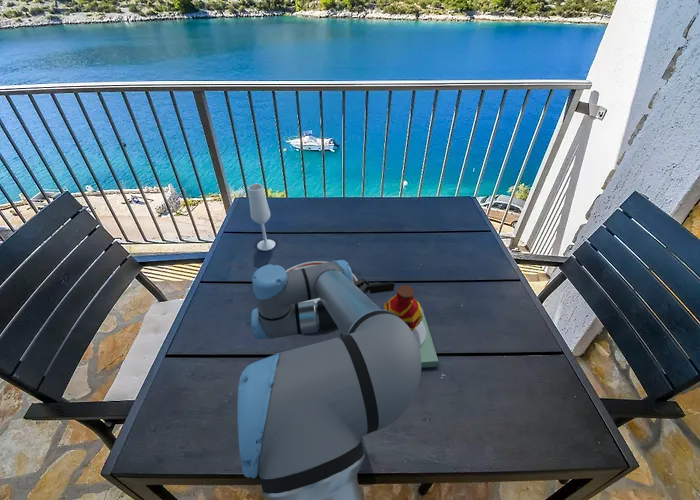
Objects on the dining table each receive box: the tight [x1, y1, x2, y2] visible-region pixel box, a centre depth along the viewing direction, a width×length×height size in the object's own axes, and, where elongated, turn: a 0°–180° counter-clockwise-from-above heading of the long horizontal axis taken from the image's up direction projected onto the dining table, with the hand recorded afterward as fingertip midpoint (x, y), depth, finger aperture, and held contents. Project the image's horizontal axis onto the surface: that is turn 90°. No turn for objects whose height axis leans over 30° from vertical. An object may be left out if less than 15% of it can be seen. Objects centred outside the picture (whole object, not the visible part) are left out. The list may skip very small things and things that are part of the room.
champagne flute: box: [247, 183, 276, 252], centre depth 121 cm, size 7×7×24 cm
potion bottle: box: [383, 284, 423, 331], centre depth 90 cm, size 10×10×15 cm
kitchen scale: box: [412, 307, 439, 369], centre depth 95 cm, size 18×16×3 cm
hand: (401, 304), depth 88 cm, fingers open, 13 cm apart
